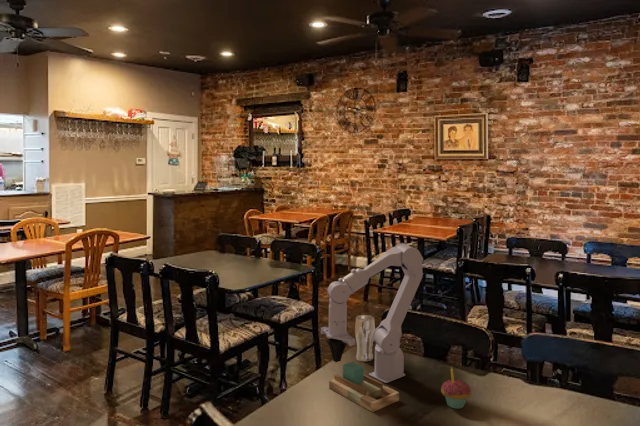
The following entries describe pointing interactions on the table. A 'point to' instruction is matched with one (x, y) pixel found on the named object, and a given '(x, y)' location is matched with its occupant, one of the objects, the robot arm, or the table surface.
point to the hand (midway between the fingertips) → (337, 360)
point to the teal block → (353, 372)
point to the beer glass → (364, 337)
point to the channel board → (365, 392)
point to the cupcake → (455, 392)
